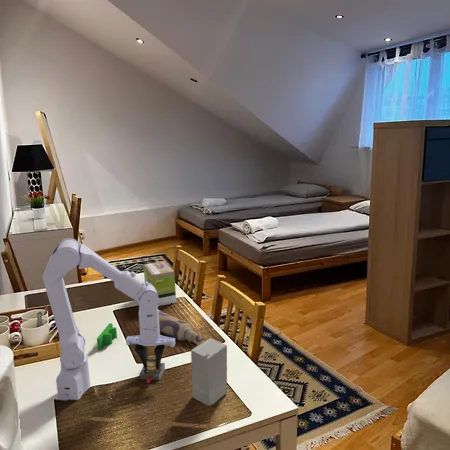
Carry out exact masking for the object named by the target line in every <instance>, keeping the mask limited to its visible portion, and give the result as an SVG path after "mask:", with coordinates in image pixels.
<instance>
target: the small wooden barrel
mask: <svg viewBox="0 0 450 450" xmlns="http://www.w3.org/2000/svg"><path fill="white" fill-rule="evenodd" d="M147 356H148V357H147V358H146V362H147V372H154V373H158V368H156V357H155V354H154V355H151V354H150V355H147Z"/></svg>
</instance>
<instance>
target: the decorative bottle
mask: <svg viewBox="0 0 450 450" xmlns="http://www.w3.org/2000/svg"><path fill="white" fill-rule="evenodd" d="M158 311H159V328H160V333H161V332H162V333H164V335H165V334H166V335H168V336H169V338H175V341H178V342H185V341H192V342H194V343H202V342H203V337H201V336H200V334H198V333H196V332H195V331H194V330H193V328H192V325H191V324H190V323H187V322H186V321H184V320H181V319H179V318H177V317H175V316H173V315H170V314H169V313H165V312H163V311H162V310H160V309H158Z"/></svg>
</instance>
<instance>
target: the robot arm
mask: <svg viewBox="0 0 450 450" xmlns="http://www.w3.org/2000/svg"><path fill="white" fill-rule="evenodd" d="M46 264H47V265H46V266H45V269H44V272H43V274H42V281H43V284H44V287H45V291H46V295H47V297H48V301H49V305H50V308H51V312H52V315H53V319H54V322H55V326H56V328H57V329H56V330H57V332H58V337H59V338H58V340H59V348H60V355H59V362H60V371H59V373H58V375H57V376H56V379H55V384H56V391H57V395H56V396H55V398H54V399H55V400H56V401H68V400H72V401H73V400H76V401H78V400H80V398H82V395H84V394H85V393H86V391H87V390H89V389H90V387H91V379H90V369H89V361H88V355H87V354H86V353H85V345H86V338H85V337H84V335H82V334H81V332H80V330H79V328H78V326H77V324H76V320H75V317H74V314H73V309H72V305H71V302H70V299H69V294H68V291H67V287H66V283H65V280H64V278H65V277H66V275H67V273H69V272H70V271H72V270H73V269H75V268H77V266H78V269H79V270H83V269H87V268H90V269H92V270H93V271H96V272H97V273H99V274H101V276H104V277H106V278H108V279H110V280H111V281H113V283H114V287H115V289H117V291H120V292H121V293H123V294H124V295H126V296H127V297H129V298H130V299H133V300H135V301H137V303H138V323H139V335H128V336H127V337H126V339H125V344H126V346H130V345H135V348H134V351H135V353H136V354H137V356H138V357H139V359H140V361H141V362H142V365H143V366H144V368H146V367H147V362H146V358H147V357H148V356H149V355H148V347H154V346H156V347H154V350H153V352H154V356H155V357H156V368H158V369H159V367H160V365H161V363H162V357H163V353H164V351H165V348H166V347H170V348H174V347H175V346H176V340H175V338H173V337H172V338H171V337H170V336H166V335H165V336H164V335H161V331H160V328H159V311H158V310H159V309H158V308H159V306H158V303H159V298H158V294H157V291H156V289H155V287H154V286H153V285H152V284H151V283H148V282H145V280H142V279H140V278H139V277H138V276H137V274H136V273H135V272H134V271H131V272H130V271H129V270H119V269H118V268H116V267H115V266H114V265H113V264H111V263H110V262H109V261H107V260H105V259H104V258H103V257H102V256H100V255H99V254H98V253H96V252H95V251H94V250H92V249H90V248H89V247H88V246H86V245H85V244H83V243H80V242H79V241H78V240H77V239H74V238H69V237H68V238H64V239H62V240H61V241H60V242H58V244H57V245H56V246H55V247H54V248H53V250H52V253H51V255H50V257H49V260H48V261H47V263H46Z"/></svg>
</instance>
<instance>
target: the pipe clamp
mask: <svg viewBox="0 0 450 450" xmlns="http://www.w3.org/2000/svg"><path fill="white" fill-rule="evenodd" d="M117 333H118V332H117V327H114V326H113V323H108V324H107V326H106V327H105V328H104V329H103V331H102V332H101V333H100V334H99V335H98V336H97V338H96V345H97V351H102V350H103V348H104V347H108V346H110V345H112V344H113V340H114V339H118V334H117Z"/></svg>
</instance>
